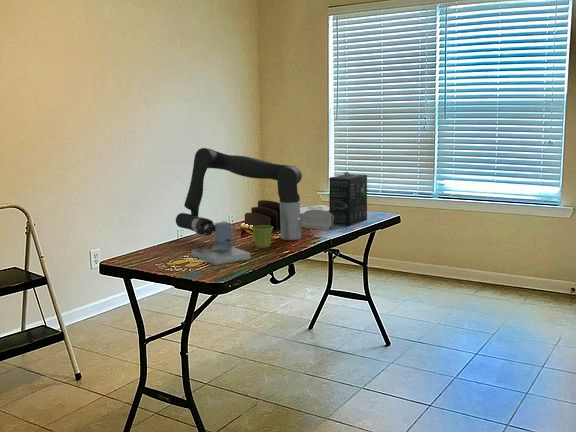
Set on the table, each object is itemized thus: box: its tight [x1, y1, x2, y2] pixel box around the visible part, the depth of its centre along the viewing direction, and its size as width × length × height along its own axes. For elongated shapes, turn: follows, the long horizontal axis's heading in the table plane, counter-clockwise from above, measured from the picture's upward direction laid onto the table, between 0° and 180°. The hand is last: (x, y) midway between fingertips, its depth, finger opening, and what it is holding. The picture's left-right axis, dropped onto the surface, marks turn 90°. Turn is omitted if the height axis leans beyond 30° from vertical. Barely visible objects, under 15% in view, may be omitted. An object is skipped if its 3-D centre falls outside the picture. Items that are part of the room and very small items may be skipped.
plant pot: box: [252, 225, 273, 249], centre depth 276 cm, size 9×9×9 cm
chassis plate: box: [191, 245, 251, 266], centre depth 259 cm, size 20×16×2 cm
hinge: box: [301, 210, 334, 231], centre depth 318 cm, size 17×5×10 cm, turn 59°
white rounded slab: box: [300, 204, 329, 223], centre depth 345 cm, size 19×33×5 cm, turn 115°
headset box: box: [328, 171, 368, 227], centre depth 329 cm, size 22×12×26 cm, turn 149°
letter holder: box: [244, 199, 280, 234], centre depth 314 cm, size 10×20×14 cm, turn 42°
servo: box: [214, 220, 234, 247], centre depth 273 cm, size 10×4×12 cm, turn 35°
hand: (219, 231), depth 277 cm, fingers open, 8 cm apart
